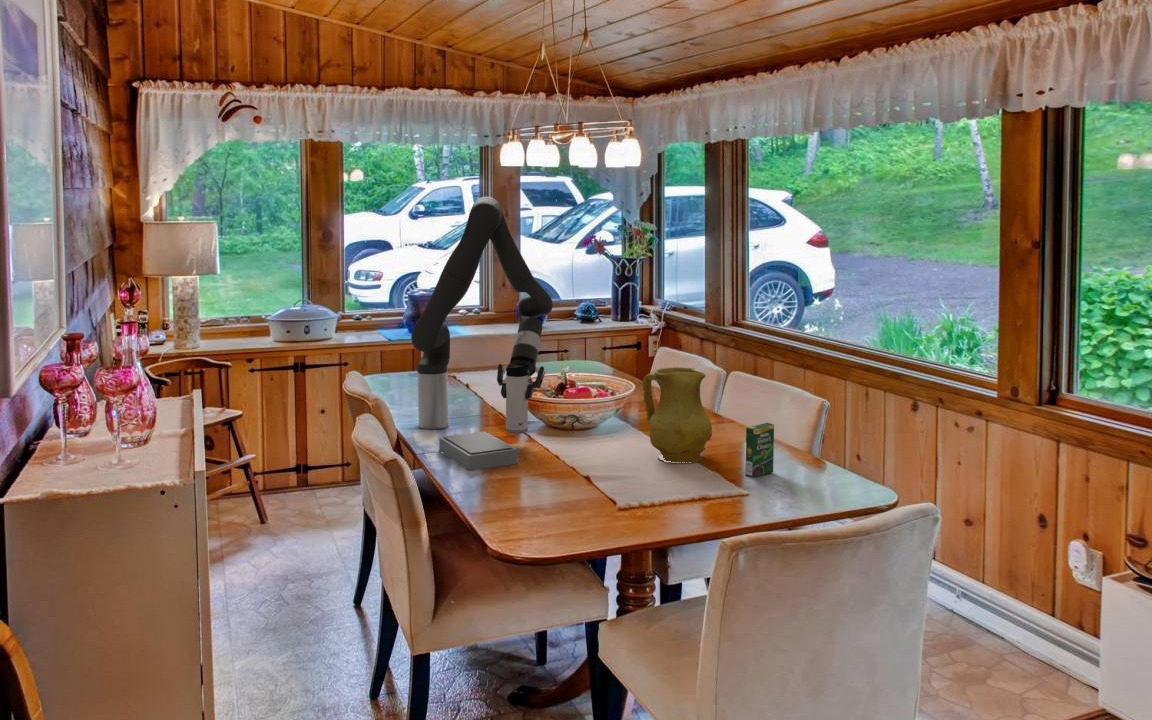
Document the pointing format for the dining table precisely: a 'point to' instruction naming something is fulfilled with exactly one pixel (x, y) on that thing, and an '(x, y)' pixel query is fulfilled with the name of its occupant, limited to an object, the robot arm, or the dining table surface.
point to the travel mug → (516, 398)
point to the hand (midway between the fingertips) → (515, 397)
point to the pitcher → (677, 414)
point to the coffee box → (759, 449)
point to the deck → (478, 450)
